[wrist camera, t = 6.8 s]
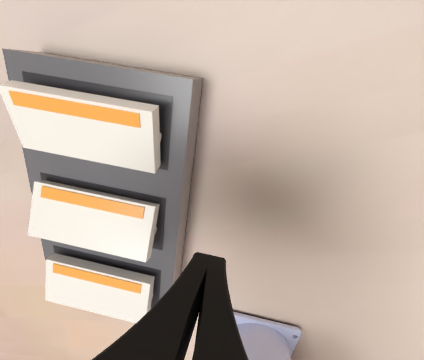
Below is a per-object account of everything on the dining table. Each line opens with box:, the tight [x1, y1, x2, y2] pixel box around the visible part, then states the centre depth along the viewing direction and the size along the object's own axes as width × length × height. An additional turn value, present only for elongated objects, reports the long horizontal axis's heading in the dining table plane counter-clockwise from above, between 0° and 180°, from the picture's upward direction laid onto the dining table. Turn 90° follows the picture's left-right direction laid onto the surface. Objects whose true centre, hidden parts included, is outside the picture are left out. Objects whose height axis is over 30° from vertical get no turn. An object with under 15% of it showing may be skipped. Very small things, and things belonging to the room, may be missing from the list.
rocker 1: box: [0, 80, 162, 174], centre depth 15 cm, size 4×9×1 cm, turn 81°
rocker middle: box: [28, 180, 160, 262], centre depth 18 cm, size 4×9×1 cm, turn 82°
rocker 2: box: [45, 253, 155, 323], centre depth 21 cm, size 4×9×1 cm, turn 82°
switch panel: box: [2, 49, 203, 308], centre depth 20 cm, size 21×12×3 cm, turn 172°
